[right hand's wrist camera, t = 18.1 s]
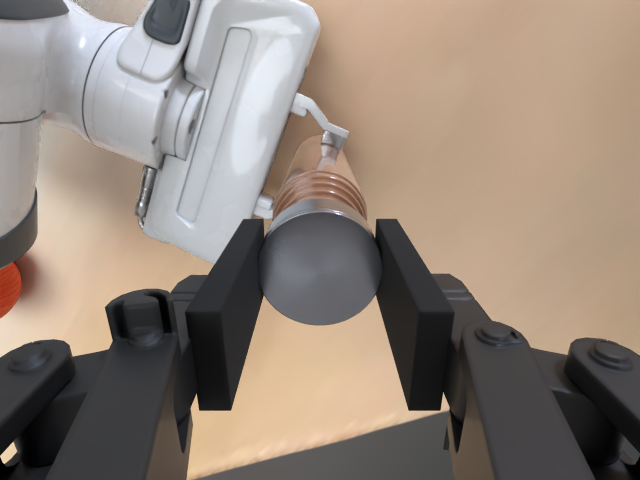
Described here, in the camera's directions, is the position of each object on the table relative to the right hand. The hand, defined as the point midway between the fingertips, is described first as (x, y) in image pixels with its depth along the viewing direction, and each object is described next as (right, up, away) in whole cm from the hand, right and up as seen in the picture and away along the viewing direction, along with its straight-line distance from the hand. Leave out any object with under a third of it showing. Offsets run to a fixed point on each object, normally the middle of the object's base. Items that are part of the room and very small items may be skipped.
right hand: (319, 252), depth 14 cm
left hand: (+1, +6, +15) cm, 16 cm away
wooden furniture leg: (0, +8, +21) cm, 22 cm away
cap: (0, 0, -1) cm, 1 cm away
